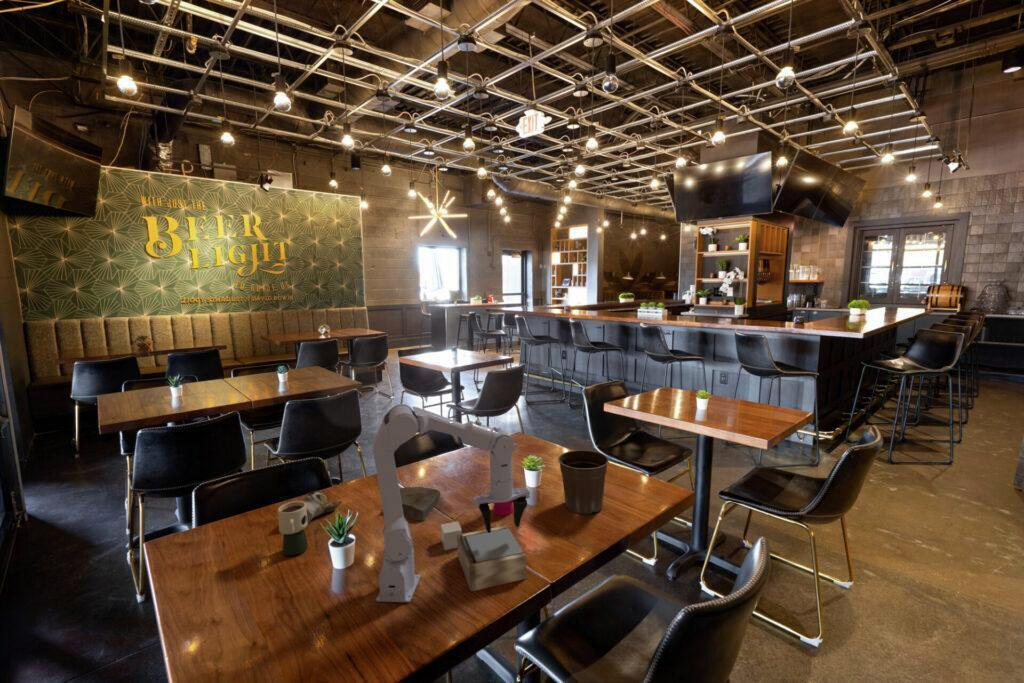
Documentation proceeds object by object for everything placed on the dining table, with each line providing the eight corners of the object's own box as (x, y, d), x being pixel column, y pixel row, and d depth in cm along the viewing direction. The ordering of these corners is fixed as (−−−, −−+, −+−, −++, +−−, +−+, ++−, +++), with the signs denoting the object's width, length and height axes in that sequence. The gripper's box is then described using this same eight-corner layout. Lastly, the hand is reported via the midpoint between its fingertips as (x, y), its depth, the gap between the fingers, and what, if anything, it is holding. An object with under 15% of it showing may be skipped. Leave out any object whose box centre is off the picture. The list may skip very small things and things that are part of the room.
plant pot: (555, 515, 141) (554, 466, 139) (561, 492, 157) (561, 448, 155) (607, 520, 137) (608, 470, 135) (609, 497, 153) (609, 451, 151)
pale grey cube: (444, 550, 123) (443, 533, 123) (441, 541, 128) (440, 524, 128) (462, 546, 125) (461, 529, 124) (458, 537, 130) (458, 521, 129)
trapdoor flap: (476, 566, 108) (476, 562, 108) (465, 540, 119) (465, 536, 119) (523, 555, 112) (523, 552, 111) (508, 531, 123) (508, 528, 123)
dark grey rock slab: (423, 522, 139) (423, 510, 138) (381, 518, 142) (380, 505, 142) (444, 498, 155) (443, 486, 154) (405, 494, 158) (404, 483, 158)
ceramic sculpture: (281, 497, 138) (317, 480, 152) (281, 524, 138) (317, 505, 153) (308, 502, 134) (343, 485, 149) (309, 530, 135) (343, 510, 149)
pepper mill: (489, 508, 147) (487, 449, 144) (509, 503, 149) (508, 446, 147) (496, 518, 140) (494, 456, 138) (517, 513, 143) (516, 453, 140)
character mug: (308, 558, 121) (305, 513, 119) (279, 565, 118) (275, 518, 117) (310, 538, 131) (307, 496, 129) (283, 544, 128) (279, 500, 127)
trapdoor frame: (470, 591, 106) (470, 564, 105) (457, 556, 121) (457, 532, 120) (526, 578, 111) (525, 552, 110) (507, 545, 125) (506, 522, 124)
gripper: (522, 467, 120) (523, 515, 122) (470, 475, 115) (471, 525, 117) (532, 477, 113) (533, 528, 115) (476, 486, 109) (478, 539, 110)
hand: (502, 528), depth 116 cm, fingers open, 7 cm apart
